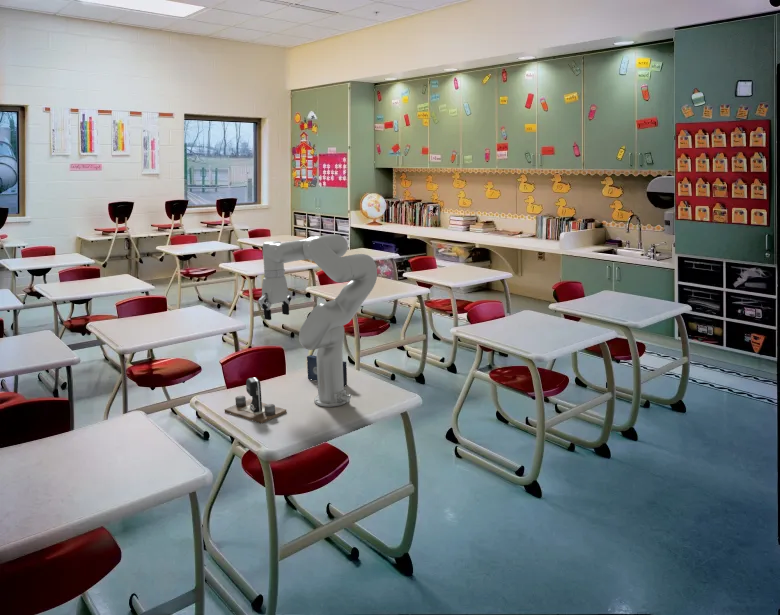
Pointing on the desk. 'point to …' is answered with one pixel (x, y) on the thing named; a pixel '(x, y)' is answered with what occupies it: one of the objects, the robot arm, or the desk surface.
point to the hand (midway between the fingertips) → (277, 316)
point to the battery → (254, 393)
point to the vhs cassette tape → (313, 369)
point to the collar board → (245, 411)
